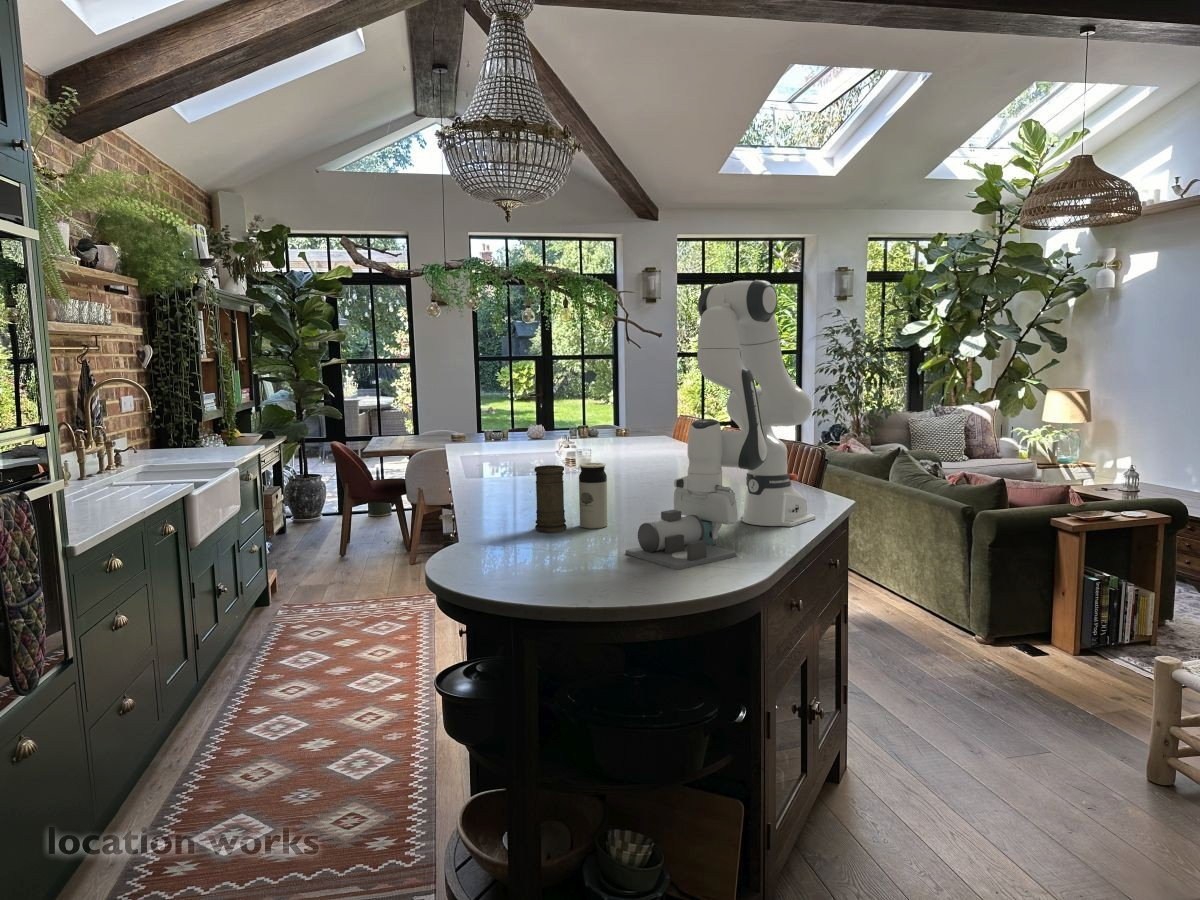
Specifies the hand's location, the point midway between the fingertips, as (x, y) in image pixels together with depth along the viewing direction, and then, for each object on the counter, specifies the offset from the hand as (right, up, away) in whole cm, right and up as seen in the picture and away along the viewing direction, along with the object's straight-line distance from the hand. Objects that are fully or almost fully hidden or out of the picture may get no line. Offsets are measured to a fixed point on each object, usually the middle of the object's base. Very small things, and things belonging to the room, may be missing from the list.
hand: (704, 536), depth 203 cm
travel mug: (-29, 0, +23) cm, 37 cm away
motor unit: (-8, -3, -11) cm, 14 cm away
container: (-41, -1, +20) cm, 45 cm away
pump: (0, -2, 0) cm, 2 cm away
